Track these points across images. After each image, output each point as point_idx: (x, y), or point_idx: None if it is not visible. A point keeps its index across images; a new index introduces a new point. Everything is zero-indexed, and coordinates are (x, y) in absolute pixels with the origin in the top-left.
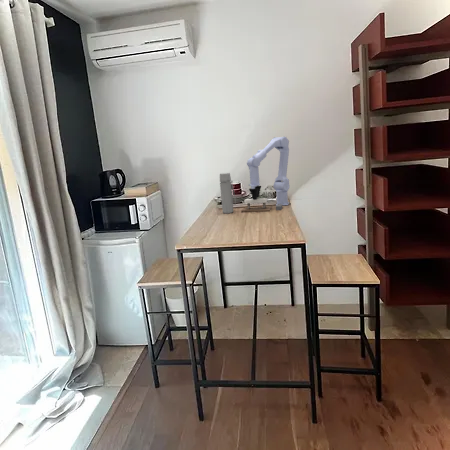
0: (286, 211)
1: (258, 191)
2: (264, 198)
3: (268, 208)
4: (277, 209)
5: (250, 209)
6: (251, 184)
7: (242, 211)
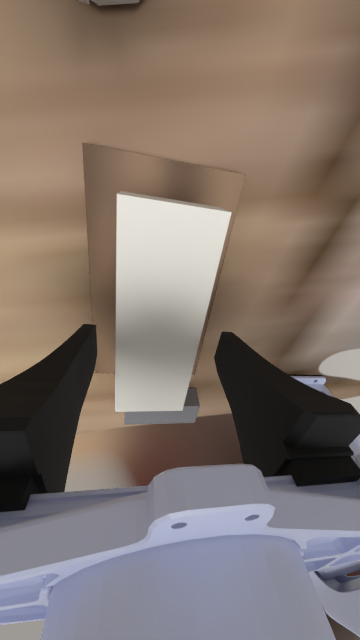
0: (88, 426)
1: (237, 412)
2: (171, 395)
3: None
4: None
5: None
6: (72, 587)
7: (85, 160)
